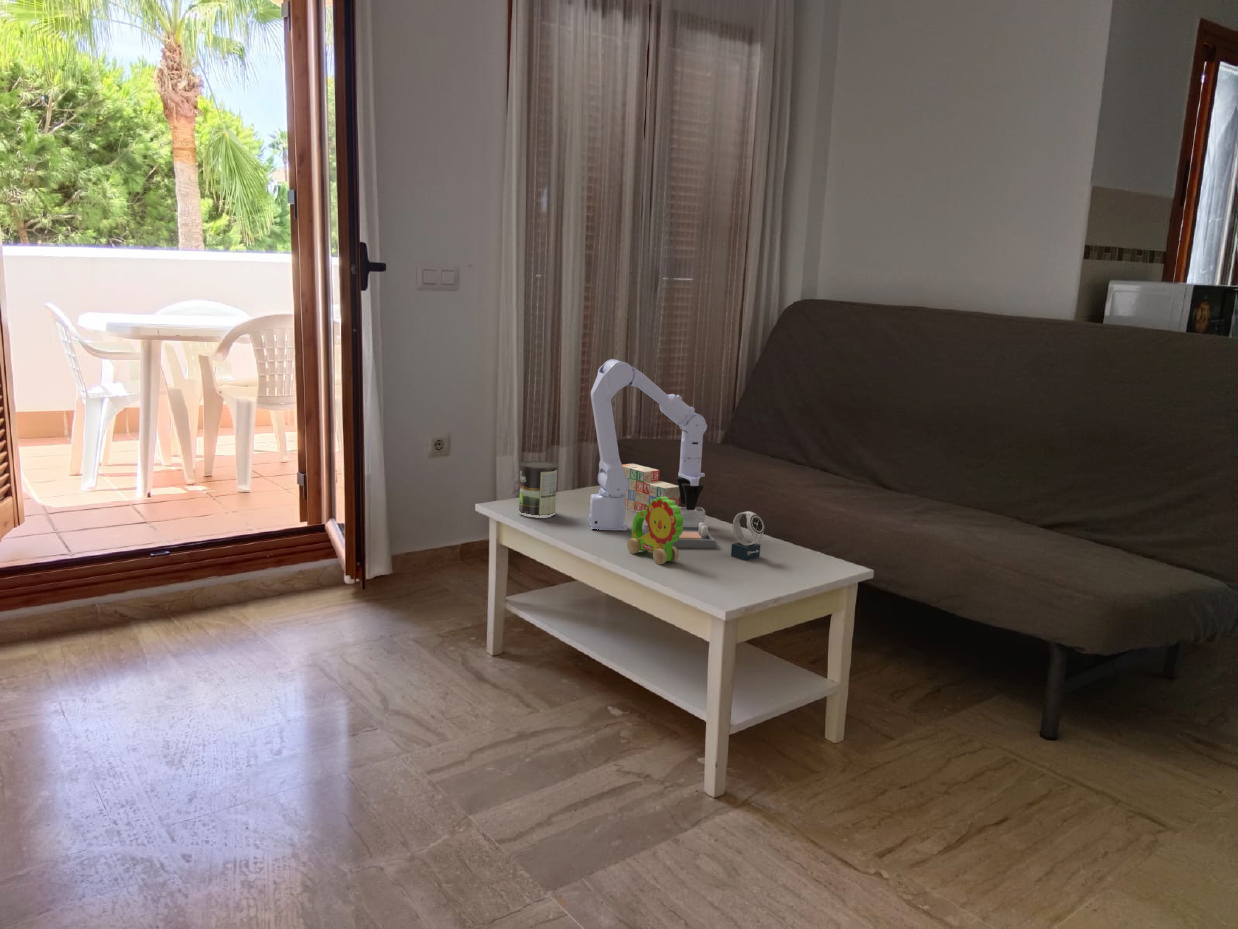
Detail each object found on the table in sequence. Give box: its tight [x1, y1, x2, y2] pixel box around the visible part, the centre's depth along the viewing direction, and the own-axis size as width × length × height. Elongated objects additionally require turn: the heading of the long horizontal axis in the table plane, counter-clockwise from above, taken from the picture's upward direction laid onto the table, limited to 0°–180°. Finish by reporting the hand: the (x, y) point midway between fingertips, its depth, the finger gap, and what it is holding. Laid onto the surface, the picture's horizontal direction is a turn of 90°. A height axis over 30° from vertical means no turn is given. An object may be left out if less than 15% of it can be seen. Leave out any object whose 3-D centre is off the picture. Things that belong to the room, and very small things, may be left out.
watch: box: [730, 510, 766, 561], centre depth 220 cm, size 6×8×11 cm
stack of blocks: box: [622, 463, 680, 511], centre depth 262 cm, size 21×6×12 cm, turn 39°
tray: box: [642, 522, 716, 549], centre depth 233 cm, size 16×14×4 cm
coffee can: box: [518, 460, 559, 516], centre depth 252 cm, size 10×10×14 cm
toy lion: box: [626, 497, 683, 566], centre depth 214 cm, size 16×5×15 cm, turn 38°
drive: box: [679, 506, 706, 526], centre depth 248 cm, size 9×4×5 cm, turn 97°
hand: (687, 506), depth 248 cm, fingers open, 7 cm apart
